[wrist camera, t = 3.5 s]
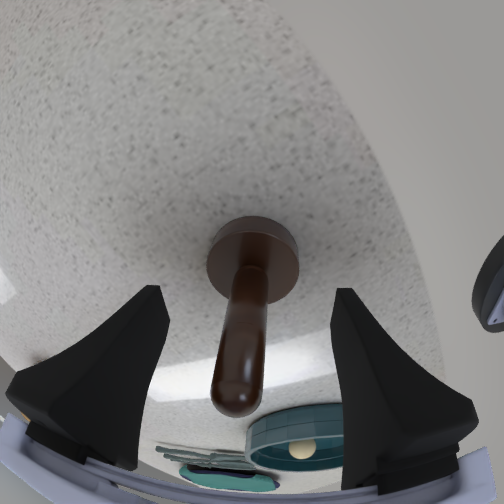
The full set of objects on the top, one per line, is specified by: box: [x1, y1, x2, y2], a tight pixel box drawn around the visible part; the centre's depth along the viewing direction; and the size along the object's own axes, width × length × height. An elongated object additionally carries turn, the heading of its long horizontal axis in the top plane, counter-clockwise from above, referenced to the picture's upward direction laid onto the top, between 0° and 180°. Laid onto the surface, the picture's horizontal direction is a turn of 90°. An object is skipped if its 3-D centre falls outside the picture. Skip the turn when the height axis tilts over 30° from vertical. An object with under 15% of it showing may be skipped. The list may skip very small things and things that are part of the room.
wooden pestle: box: [206, 216, 299, 418], centre depth 11 cm, size 4×4×9 cm
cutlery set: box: [156, 446, 280, 492], centre depth 39 cm, size 20×30×2 cm, turn 6°
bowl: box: [244, 404, 343, 472], centre depth 25 cm, size 15×15×4 cm
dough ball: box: [289, 439, 316, 459], centre depth 25 cm, size 3×3×3 cm
